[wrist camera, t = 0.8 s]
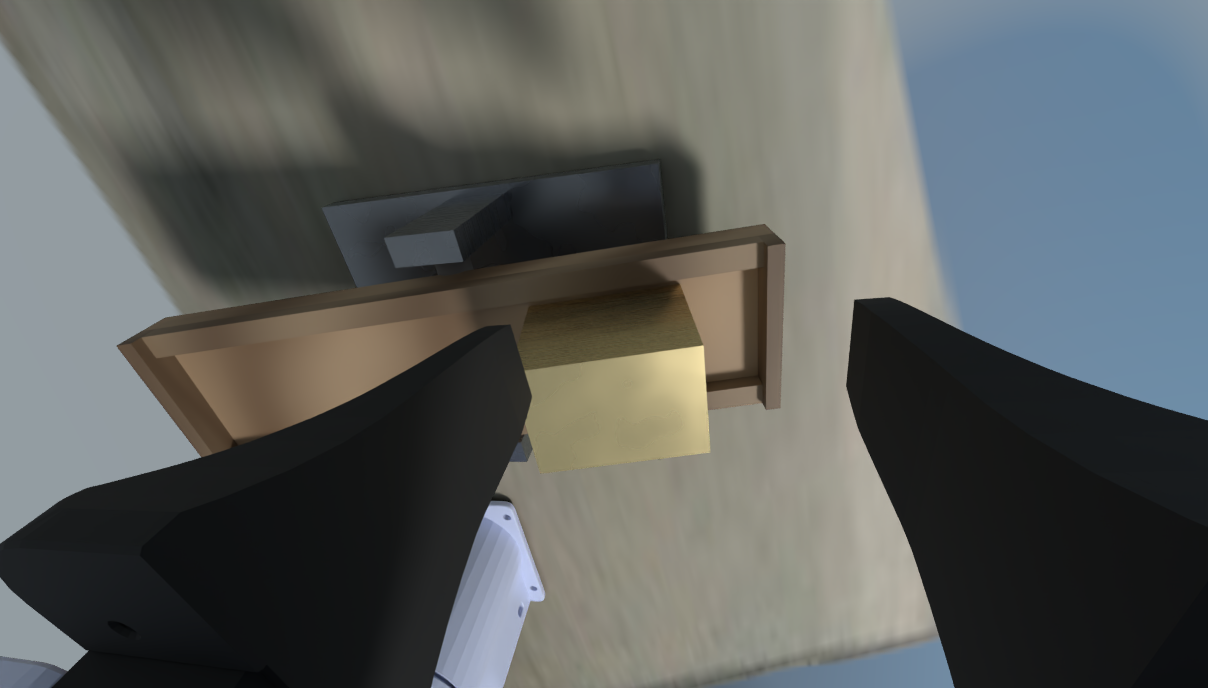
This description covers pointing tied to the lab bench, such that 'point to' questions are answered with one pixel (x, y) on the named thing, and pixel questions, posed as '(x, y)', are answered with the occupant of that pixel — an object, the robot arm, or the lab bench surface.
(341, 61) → the lab bench surface
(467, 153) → the lab bench surface
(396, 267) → the pivot stand
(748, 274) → the beam
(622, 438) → the block
